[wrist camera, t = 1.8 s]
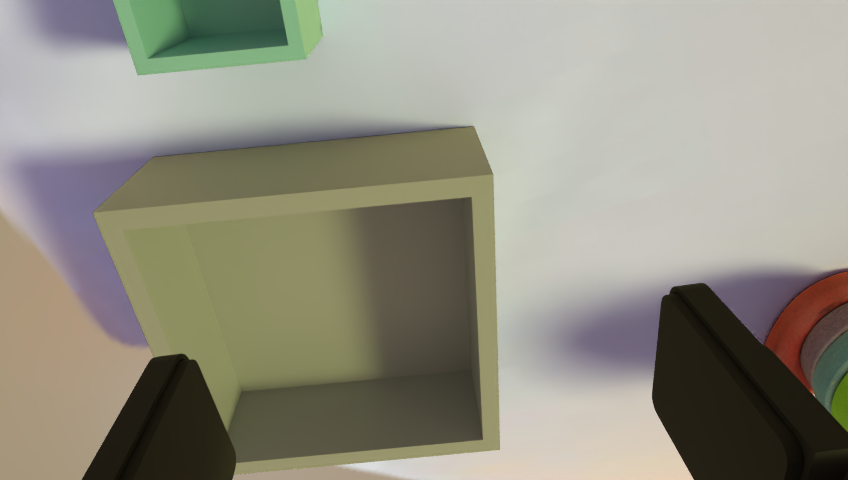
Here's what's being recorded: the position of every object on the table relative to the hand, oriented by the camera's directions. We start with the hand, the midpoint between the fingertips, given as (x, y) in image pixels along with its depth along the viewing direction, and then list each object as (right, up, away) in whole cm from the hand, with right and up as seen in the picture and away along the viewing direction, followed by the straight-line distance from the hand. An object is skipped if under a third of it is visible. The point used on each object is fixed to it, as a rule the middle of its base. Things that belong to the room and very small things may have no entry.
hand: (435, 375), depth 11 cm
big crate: (-6, 0, +24) cm, 25 cm away
